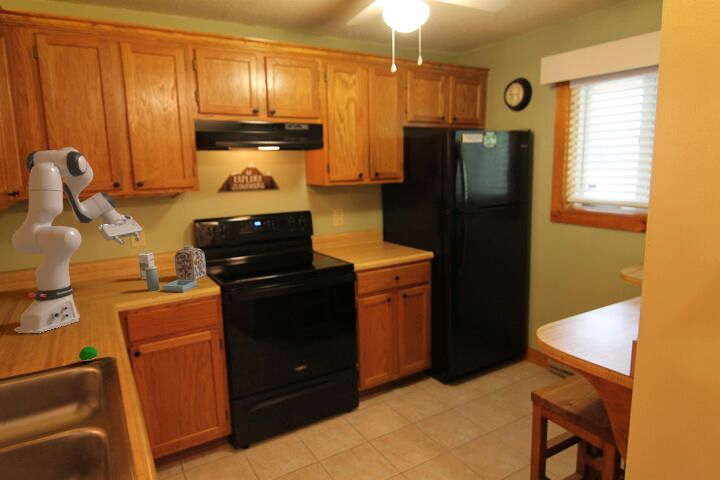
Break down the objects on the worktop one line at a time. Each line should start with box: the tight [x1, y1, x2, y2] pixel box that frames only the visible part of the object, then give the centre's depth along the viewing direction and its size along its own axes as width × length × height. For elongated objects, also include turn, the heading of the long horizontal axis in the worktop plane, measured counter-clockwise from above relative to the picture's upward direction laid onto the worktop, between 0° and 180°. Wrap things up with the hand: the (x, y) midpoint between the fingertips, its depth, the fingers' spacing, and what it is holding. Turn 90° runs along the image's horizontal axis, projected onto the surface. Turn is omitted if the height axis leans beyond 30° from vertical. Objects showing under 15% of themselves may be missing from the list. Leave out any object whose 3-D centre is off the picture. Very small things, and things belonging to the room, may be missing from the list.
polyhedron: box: [78, 345, 99, 361], centre depth 143 cm, size 5×5×5 cm
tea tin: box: [145, 265, 161, 292], centre depth 226 cm, size 6×6×12 cm
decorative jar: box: [174, 244, 207, 281], centre depth 248 cm, size 12×12×18 cm
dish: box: [162, 279, 199, 293], centre depth 226 cm, size 12×12×3 cm
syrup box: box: [137, 252, 155, 281], centre depth 249 cm, size 6×6×14 cm
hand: (130, 242), depth 228 cm, fingers open, 8 cm apart
